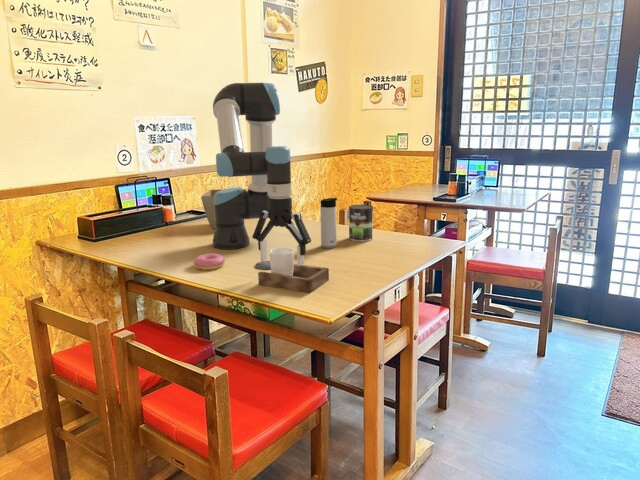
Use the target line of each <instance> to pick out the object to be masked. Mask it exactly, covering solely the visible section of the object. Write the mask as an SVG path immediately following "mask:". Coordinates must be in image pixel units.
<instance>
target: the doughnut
mask: <svg viewBox="0 0 640 480" xmlns="http://www.w3.org/2000/svg"><path fill="white" fill-rule="evenodd" d="M225 262H226V258H225V257H224V256H223V255H222V254H219V253H204V254H200V255H197V256H196V257H195V258H194V261H193V265H194V267H195V269H198V270H200V269H201V271H213V270H214V269H215V270H217V269H218V270H219V269H221V268H222V267H223V266H224V265H225Z"/></svg>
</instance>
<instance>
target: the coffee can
mask: <svg viewBox="0 0 640 480" xmlns="http://www.w3.org/2000/svg"><path fill="white" fill-rule="evenodd" d="M373 214H374V206H373V205H369V204H352V205H349V206H348V240H350V241H351V242H356V243H357V242H358V243H363V242H364V243H365V242H370V241H372V240H373V231H374V230H373V229H374V228H373V227H374V225H373V223H374V221H373V220H374V219H373V218H374V215H373Z"/></svg>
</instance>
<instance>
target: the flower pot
mask: <svg viewBox="0 0 640 480" xmlns="http://www.w3.org/2000/svg"><path fill="white" fill-rule="evenodd" d="M224 189H225V188H224ZM224 189H223V188H221V189H209V190H208V191H206V192H204V193H203V194H201V195H200V197H201V198H200V199H201V202H202V203H201V204H202V206H203V210H204V213H205V216H206V218H207V221H208V224H209V226H210V229H212V230H216V219H215V205H214V195H215V193H216V192H218V191H220V190H224ZM242 189H243V191H248V188H242Z"/></svg>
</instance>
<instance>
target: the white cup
mask: <svg viewBox="0 0 640 480" xmlns="http://www.w3.org/2000/svg"><path fill="white" fill-rule="evenodd" d="M269 261H270V266H271V269H270V273H275V274H282V275H288V276H293V270H294V264H295V262H294V261H295V251H294V249H293V248H288V247H287V248H286V247H278V248H277V247H276V248H273V249H271V250H269Z"/></svg>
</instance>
